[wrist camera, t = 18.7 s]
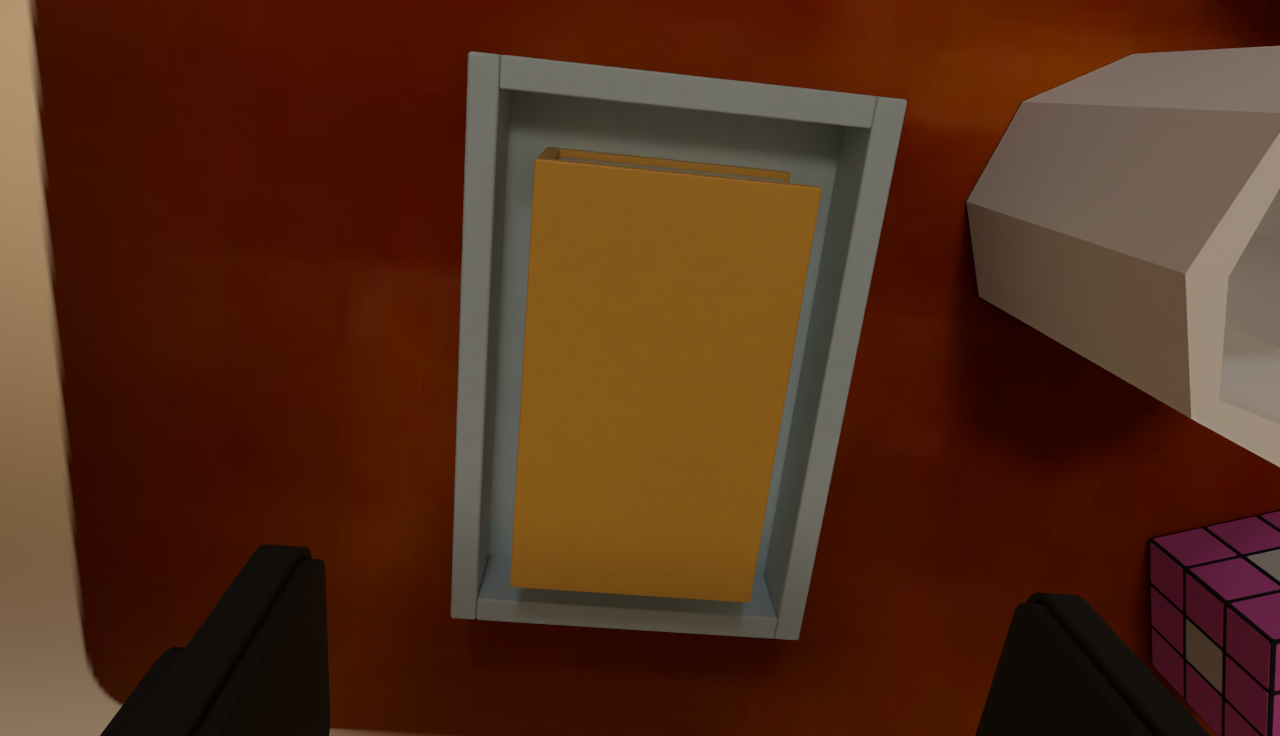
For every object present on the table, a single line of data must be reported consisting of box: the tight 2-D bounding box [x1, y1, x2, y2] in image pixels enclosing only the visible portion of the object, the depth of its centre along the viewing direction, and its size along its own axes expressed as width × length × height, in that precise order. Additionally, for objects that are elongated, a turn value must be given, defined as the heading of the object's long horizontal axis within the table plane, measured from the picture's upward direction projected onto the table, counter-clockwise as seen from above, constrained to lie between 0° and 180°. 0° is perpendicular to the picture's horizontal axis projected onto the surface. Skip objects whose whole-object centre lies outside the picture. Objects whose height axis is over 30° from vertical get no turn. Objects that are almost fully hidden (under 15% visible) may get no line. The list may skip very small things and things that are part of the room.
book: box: [510, 147, 822, 603], centre depth 23 cm, size 12×7×4 cm, turn 174°
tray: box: [451, 51, 907, 640], centre depth 24 cm, size 11×17×3 cm
